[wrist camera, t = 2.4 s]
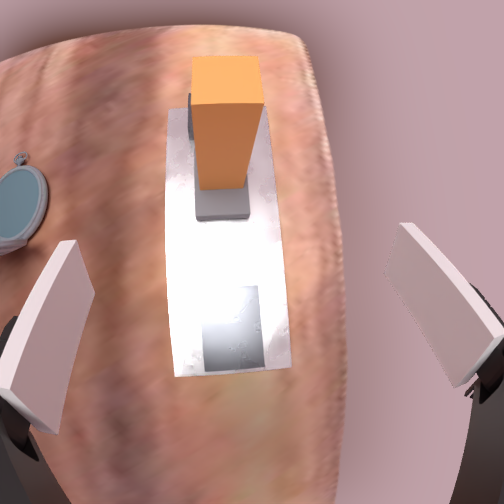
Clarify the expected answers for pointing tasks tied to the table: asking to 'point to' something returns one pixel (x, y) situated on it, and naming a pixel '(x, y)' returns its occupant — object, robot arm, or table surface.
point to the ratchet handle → (224, 132)
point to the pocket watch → (21, 205)
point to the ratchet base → (224, 267)
